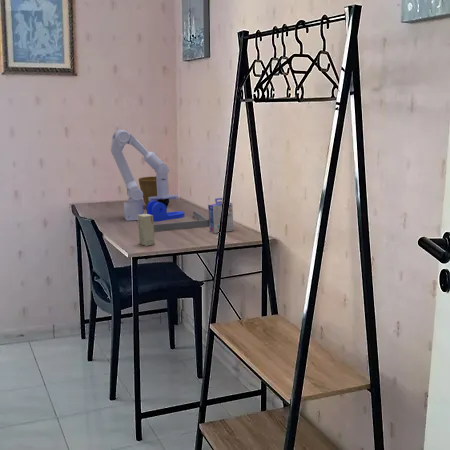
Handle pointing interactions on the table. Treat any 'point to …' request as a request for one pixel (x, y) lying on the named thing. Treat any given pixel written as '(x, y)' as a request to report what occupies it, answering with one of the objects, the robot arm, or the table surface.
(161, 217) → the bracket
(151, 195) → the plant pot
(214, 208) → the ink cartridge box
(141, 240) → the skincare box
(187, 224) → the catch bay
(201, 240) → the table surface
